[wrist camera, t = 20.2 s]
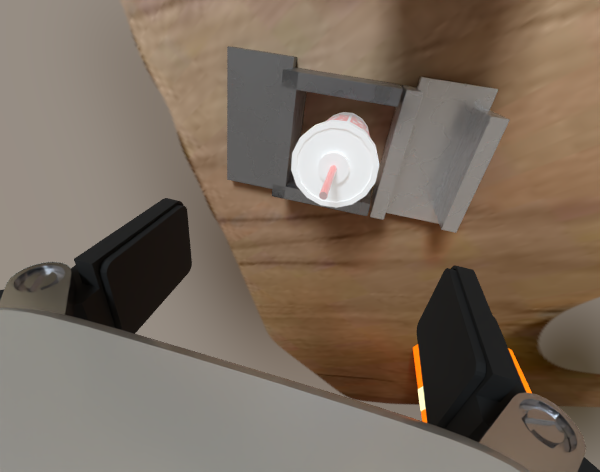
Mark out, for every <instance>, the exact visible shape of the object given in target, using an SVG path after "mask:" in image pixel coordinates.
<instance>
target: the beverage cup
mask: <svg viewBox="0 0 600 472" xmlns="http://www.w3.org/2000/svg"><path fill="white" fill-rule="evenodd" d="M378 169H379V160H378V155H377V150H376V146H375V144H374V142H373V141H372V140H371V138H370V135H369V131H368V126H367V125H366V123H365V122H364V121H363V119H362V118H361V117H359V116H357V115H356V114H354V113H348V112H342V113H339V114H335V115H333V116H332V117H331V118H329V119H328V120H327V121H325V122H322V123H319V124H316V125H314V126H313V127H312V128H311V129H309V130H308V131H307V132H306V133H305V134H304V135H302V136H301V137H300V138H299V140H298V142H297V144H296V146H295V148H294V151H293V153H292V164H291V171H292V174H293V177H294V180H295V183H296V185H297V187H298V188H299V189H300V190H301V191H302V193H303V194H304V195H305V196H306V197H307V198H309V199H310V200H312V201H314V202H316V203H317V204H319V205H322V206H328V207H335V208H338V207H342V206H347V205H352V204H354V203H355V202H357V201H358V200H360V199H362V198H363V197H365V196H366V195H367V194H368V192H369V191H370V189H371V188H372V186H373V185H374V184H375V182H376V178H377V173H378Z"/></svg>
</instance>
